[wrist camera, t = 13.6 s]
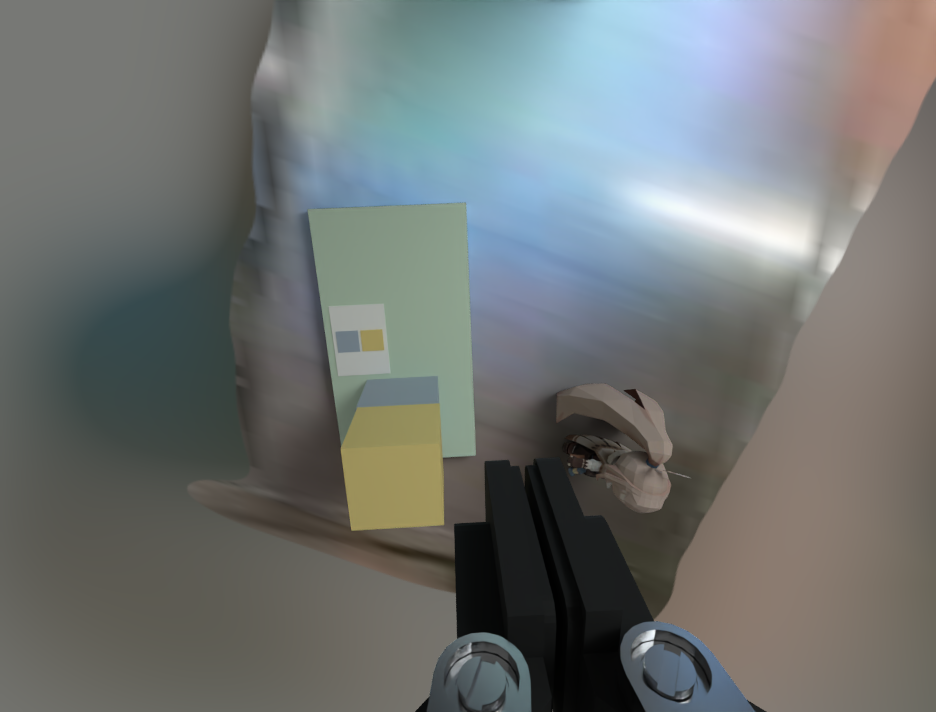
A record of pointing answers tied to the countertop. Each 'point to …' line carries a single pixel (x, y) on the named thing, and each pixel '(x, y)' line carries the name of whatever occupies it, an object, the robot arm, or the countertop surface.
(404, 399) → the base brick
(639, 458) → the toy
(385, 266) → the board
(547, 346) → the countertop surface
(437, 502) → the brick
